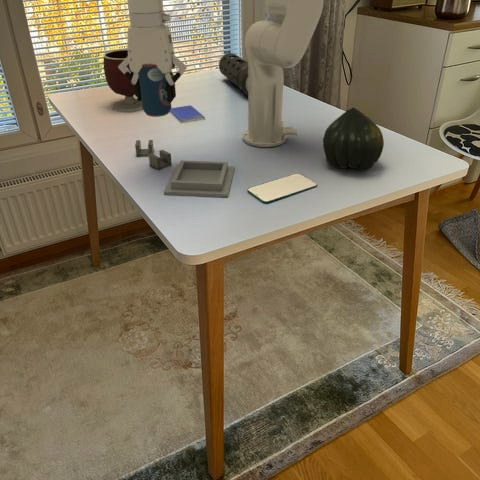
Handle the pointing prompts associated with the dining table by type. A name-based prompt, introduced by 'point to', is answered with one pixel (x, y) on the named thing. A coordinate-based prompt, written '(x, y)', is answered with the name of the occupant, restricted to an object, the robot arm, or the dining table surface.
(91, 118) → the dining table surface
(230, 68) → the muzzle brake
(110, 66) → the mate gourd
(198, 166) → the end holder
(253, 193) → the smartphone
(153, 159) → the clip
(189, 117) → the hard drive
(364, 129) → the squash
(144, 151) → the clip
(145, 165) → the dining table surface
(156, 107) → the soda can
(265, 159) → the dining table surface
